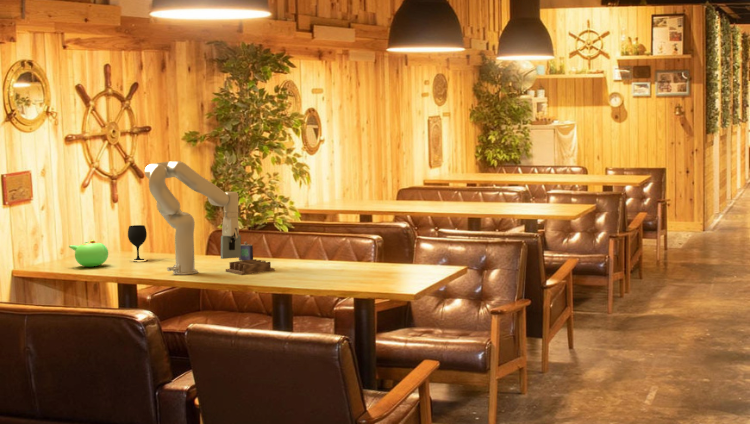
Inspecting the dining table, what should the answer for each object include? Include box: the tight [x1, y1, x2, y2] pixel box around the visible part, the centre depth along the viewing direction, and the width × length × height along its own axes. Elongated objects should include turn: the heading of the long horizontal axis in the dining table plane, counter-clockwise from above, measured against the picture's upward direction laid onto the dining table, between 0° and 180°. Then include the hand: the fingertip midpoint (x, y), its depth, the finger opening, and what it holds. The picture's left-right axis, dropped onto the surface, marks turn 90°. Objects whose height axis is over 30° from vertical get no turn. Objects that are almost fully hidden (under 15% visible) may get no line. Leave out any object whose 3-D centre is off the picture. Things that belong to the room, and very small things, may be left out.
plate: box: [220, 234, 242, 260], centre depth 506 cm, size 11×2×12 cm, turn 130°
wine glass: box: [127, 224, 148, 260], centre depth 542 cm, size 10×10×20 cm
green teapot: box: [68, 239, 109, 268], centre depth 522 cm, size 18×17×15 cm
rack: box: [225, 258, 276, 276], centre depth 498 cm, size 20×16×5 cm
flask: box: [238, 241, 254, 261], centre depth 538 cm, size 9×3×11 cm, turn 65°
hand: (230, 249), depth 506 cm, fingers closed on plate, 2 cm apart
